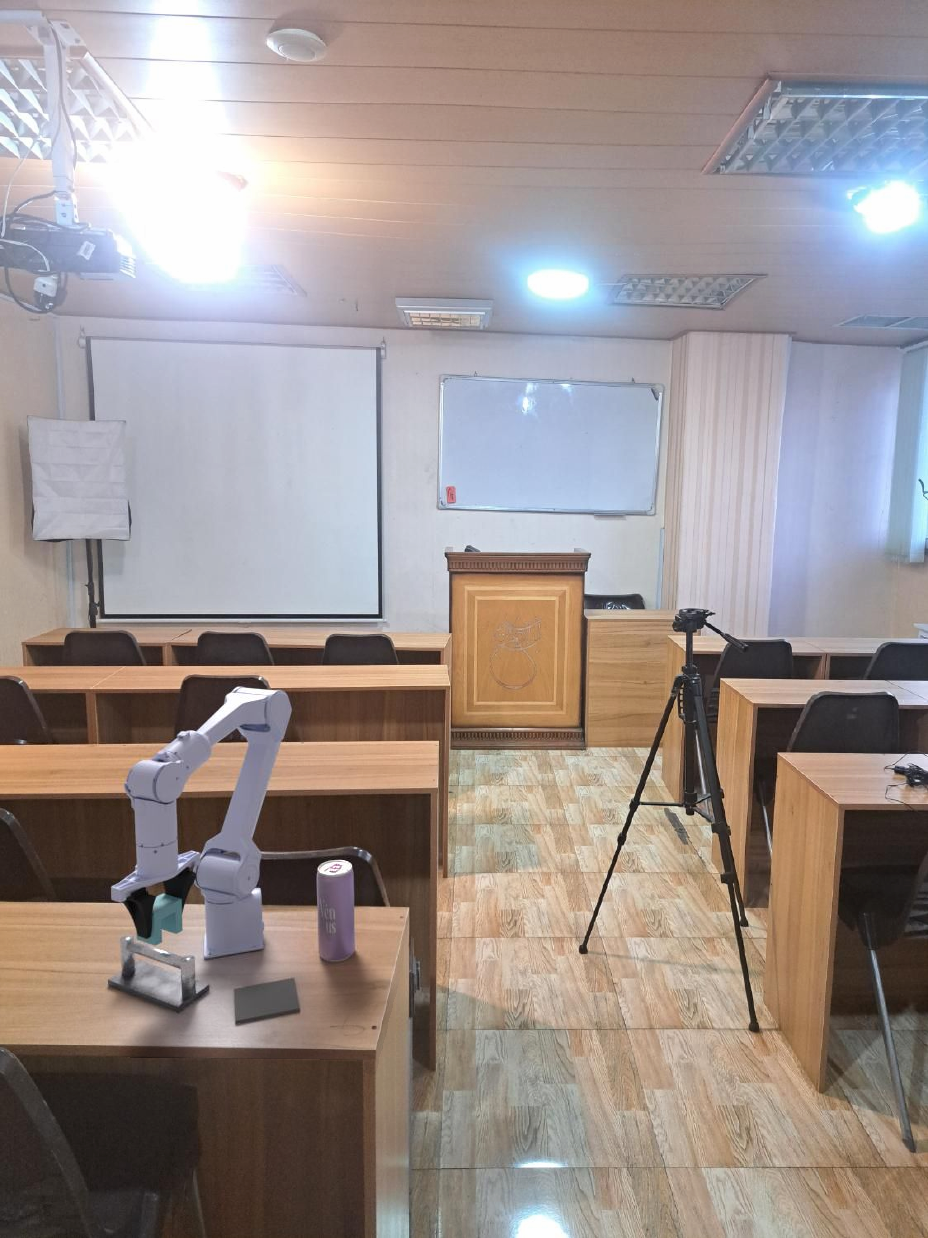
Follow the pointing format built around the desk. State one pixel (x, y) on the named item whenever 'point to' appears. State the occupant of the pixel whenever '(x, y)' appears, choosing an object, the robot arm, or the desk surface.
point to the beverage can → (335, 910)
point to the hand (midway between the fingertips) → (159, 928)
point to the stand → (157, 976)
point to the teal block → (164, 918)
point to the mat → (265, 1000)
